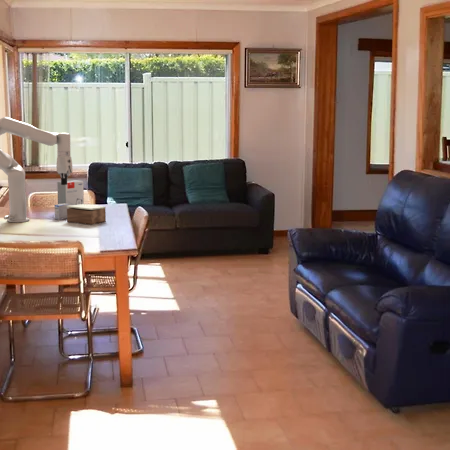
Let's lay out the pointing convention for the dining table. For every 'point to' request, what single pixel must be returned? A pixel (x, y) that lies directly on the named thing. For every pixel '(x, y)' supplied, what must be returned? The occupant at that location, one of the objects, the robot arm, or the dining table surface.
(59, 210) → the medicine box
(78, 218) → the wooden box
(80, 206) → the lid
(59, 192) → the hard drive box
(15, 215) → the robot arm
